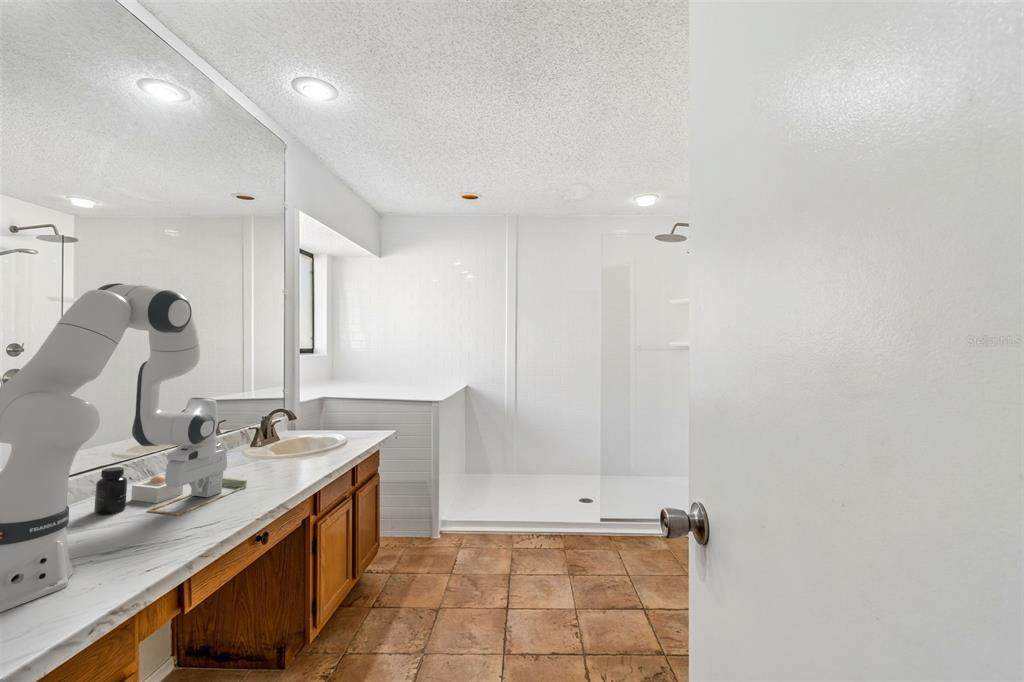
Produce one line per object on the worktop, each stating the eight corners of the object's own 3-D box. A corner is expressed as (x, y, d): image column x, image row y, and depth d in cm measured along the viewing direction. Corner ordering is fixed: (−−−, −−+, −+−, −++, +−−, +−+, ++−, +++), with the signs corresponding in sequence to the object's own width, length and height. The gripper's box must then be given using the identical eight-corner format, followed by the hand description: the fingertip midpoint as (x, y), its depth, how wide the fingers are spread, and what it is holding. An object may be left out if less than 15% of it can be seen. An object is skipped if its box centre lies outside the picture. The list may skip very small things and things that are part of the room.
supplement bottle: (127, 511, 132) (129, 469, 132) (95, 517, 127) (98, 473, 127) (123, 504, 136) (126, 464, 136) (92, 510, 131) (95, 468, 131)
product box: (207, 497, 145) (209, 474, 145) (189, 495, 146) (192, 472, 146) (221, 492, 151) (224, 470, 151) (205, 490, 152) (207, 468, 152)
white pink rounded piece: (157, 499, 141) (158, 478, 141) (141, 497, 142) (142, 477, 142) (173, 493, 146) (174, 473, 146) (157, 491, 147) (159, 472, 147)
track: (178, 515, 131) (178, 507, 131) (146, 512, 132) (146, 503, 132) (246, 487, 157) (246, 480, 157) (219, 484, 159) (219, 477, 159)
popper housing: (157, 503, 139) (157, 488, 139) (131, 500, 140) (132, 485, 140) (182, 493, 148) (183, 479, 148) (158, 490, 149) (158, 477, 149)
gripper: (216, 441, 154) (214, 482, 154) (162, 455, 134) (159, 503, 134) (233, 443, 153) (231, 484, 153) (181, 457, 133) (178, 505, 133)
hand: (197, 493), depth 143 cm, fingers closed
